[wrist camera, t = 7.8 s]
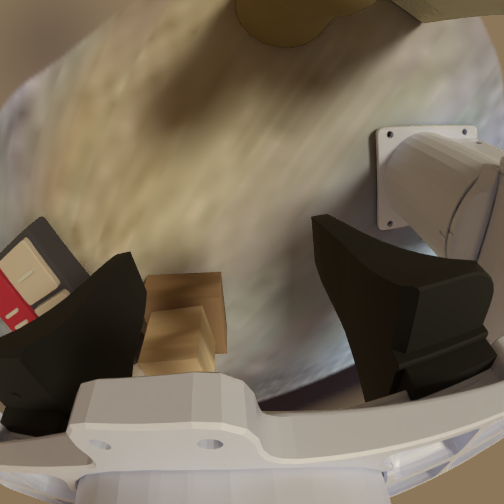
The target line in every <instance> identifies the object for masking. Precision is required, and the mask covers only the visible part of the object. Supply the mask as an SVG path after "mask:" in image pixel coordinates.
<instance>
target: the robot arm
mask: <svg viewBox="0 0 504 504" xmlns="http://www.w3.org/2000/svg"><path fill="white" fill-rule="evenodd" d="M463 129H464V133H462V131H463ZM389 131H390V132H391V135H390V137H387V133H388V132H389ZM376 156H377V226H378V227H379V229H380V230H389V229H394V228H400V227H406V226H410V227H411V228H412V229H413V230H414V231H415V232H416V233H417V234H418V235H419V236H420V237H421V238H422V239H423V240H424V242H425V243H426V244H427V245H428V246H429V247H430V248H431V249H432V250H433V251H434V252H435V253H436V255H437V256H438V257H436V256H431V255H426V254H421V253H417V252H413V251H409V250H406V249H402V248H399V247H396V246H393V245H390V244H388V243H385V242H382V241H380V240H378V239H375V238H373V237H371V236H369V235H367V234H364V233H362V232H360V231H358V230H356V229H355V228H353V227H351V226H349V225H347V224H345V223H343V222H342V221H340V220H338V219H336V218H334V217H332V216H330V215H328V214H324V215H318V216H313V217H311V219H312V230H313V242H314V255H315V263H316V266H317V269H318V273H319V276H320V279H321V281H322V284H323V286H324V288H325V290H326V292H327V294H328V296H329V298H330V300H331V302H332V304H333V306H334V308H335V310H336V313H337V315H338V317H339V319H340V321H341V323H342V325H343V328H344V330H345V333H346V336H347V339H348V342H349V345H350V348H351V351H352V355H353V358H354V361H355V365H356V368H357V372H358V375H359V379H360V383H361V387H362V391H363V394H364V399H365V403H362V404H359V405H355V406H351V407H347V408H343V409H333V410H316V411H261V410H260V408H259V407H258V403H257V400H256V397H255V394H254V392H253V391H252V390H251V389H250V388H249V387H248V386H247V385H246V384H245V382H244V381H242V380H240V379H237V378H234V377H231V376H229V375H226V374H223V373H220V372H199V371H194V372H185V373H175V374H165V375H153V376H140V377H132V373H133V363H134V358H135V353H136V349H137V344H138V340H139V336H140V332H141V328H142V324H143V320H144V315H145V309H146V299H147V290H146V288H145V286H144V283H143V281H142V279H141V276H140V274H139V272H138V269H137V267H136V264H135V262H134V260H133V257H132V255H131V252H126V253H121V254H117V255H115V256H114V257H112V258H111V259H110V260H108V261H107V262H106V263H105V264H104V265H103V266H101V267H100V268H99V269H98V270H97V271H96V272H95V273H94V274H92V275H91V276H90V277H89V278H88V279H87V280H86V281H85V282H84V283H82V284H81V285H80V286H79V287H78V288H77V289H75V290H74V291H73V292H72V293H71V294H70V295H68V296H67V297H66V298H65V299H63V300H62V301H61V302H60V303H58V304H57V305H55V306H54V307H53V308H51V309H50V310H49V311H47V312H45V313H44V314H42V315H41V316H39V317H38V318H36V319H35V320H33V321H31V322H30V323H28V324H26V325H24V326H22V327H21V328H19V329H17V330H15V331H13V332H11V333H9V334H6V335H4V336H2V337H0V401H1V402H2V403H3V404H4V405H5V406H6V408H5V410H4V413H2V412H1V411H0V484H2V485H4V486H5V487H7V488H10V489H12V490H15V491H18V492H20V493H23V494H25V495H28V496H31V497H34V498H36V499H39V500H42V501H45V502H48V503H51V504H391V501H390V497H392V496H395V495H397V494H400V493H402V492H404V491H407V490H409V489H411V488H414V487H416V486H418V485H420V484H422V483H424V482H427V481H429V480H431V479H433V478H435V477H436V476H439V475H441V474H443V473H445V472H447V471H449V470H450V469H452V468H454V467H456V466H458V465H460V464H461V463H463V462H465V461H466V460H468V459H470V458H472V457H473V456H475V455H477V454H478V453H480V452H482V451H483V450H485V449H487V448H488V447H490V446H492V445H493V444H495V443H496V442H498V441H499V440H501V439H502V438H504V151H503V150H501V149H499V148H497V147H494V146H492V145H490V144H488V143H485V142H483V141H481V140H478V139H477V128H476V127H475V126H473V125H418V126H395V127H381V128H378V129H377V131H376ZM389 221H391V223H390V224H388V225H387V223H388V222H389Z"/></svg>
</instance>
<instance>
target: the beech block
mask: <svg viewBox="0 0 504 504" xmlns="http://www.w3.org/2000/svg"><path fill="white" fill-rule="evenodd" d="M138 364H139V366H140V367H141V369H142V370H143V372H144V374H145V375H146V376H153V375H165V374H175V373H185V372H194V371H199V372H214V366H215V340H214V337H213V334H212V331H211V329H210V326H209V323H208V320H207V317H206V314H205V312H204V309H203V306H202V305H201V306H194V307H186V308H179V309H172V310H164V311H157V312H151V315H150V319H149V323H148V326H147V330H146V334H145V337H144V341H143V345H142V349H141V353H140V357H139V361H138Z"/></svg>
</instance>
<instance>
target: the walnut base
mask: <svg viewBox="0 0 504 504" xmlns="http://www.w3.org/2000/svg"><path fill="white" fill-rule="evenodd" d="M144 286H145V288H146V290H147V299H146V309H145V315H144V318H145V321H146V324H147V326H148V323H149V319H150V315H151V312H157V311H164V310H172V309H179V308H186V307H194V306H201V305H202V306H203V309H204V312H205V314H206V317H207V320H208V323H209V326H210V329H211V331H212V334H213V337H214V340H215V354H223V353H227V324H226V315H225V306H224V296H223V287H222V277H221V272H209V273H188V274H167V275H148V276H147V279H146V282H145V285H144Z"/></svg>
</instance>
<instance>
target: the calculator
mask: <svg viewBox="0 0 504 504" xmlns="http://www.w3.org/2000/svg"><path fill="white" fill-rule="evenodd" d="M89 277H90V276H89V274H88V273H87V272H86V271H85V269H84V268H83V267H82V266H81V264H80V263H79V262H78V261H77V259H76V258H75V257H74V256H73V254H72V253H71V252H70V251H69V249H68V248H67V247H66V245H65V244H64V243H63V242H62V240H61V239H60V238H59V236H58V235H57V234H56V232H55V231H54V230H53V228H52V227H51V226H50V224H49V223H48V221H47V220H46V219H45V218H44V217H39V218H38V219H37V220H35V221H34V222H33V223H32V224H31V225H29V226H28V227H27V228H26V229H25V230H24V231H22V232H21V233H20V234H19V235H18V236H17V237H16V238H15V239H14V240H13V241H12V242H11V243H10V244H9V245H8V246H7V247H6V248H5V249H4V250H3V251H2V252H1V253H0V317H1V318H2V320H3V321H4V322H5V323H6V324H7V325H8V327H9V328H10V329H11V330H12V331H15V330H17V329H19V328H21V327H22V326H24V325H26V324H28V323H30V322H31V321H33V320H35V319H36V318H38V317H39V316H41V315H42V314H44V313H45V312H47V311H49V310H50V309H51V308H53V307H54V306H55V305H57V304H58V303H60V302H61V301H62V300H63V299H65V298H66V297H67V296H68V295H70V294H71V293H72V292H73V291H74V290H75V289H77V288H78V287H79V286H80V285H81V284H82V283H84V282H85V281H86V280H87V279H88V278H89ZM144 337H145V336H144V335H143V334H142V332H140V336H139V340H138V344H137V349H136V353H135V358H134V363H133V364H136V363H137V362H138V359H139V356H140V353H141V349H142V345H143V341H144Z"/></svg>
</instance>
